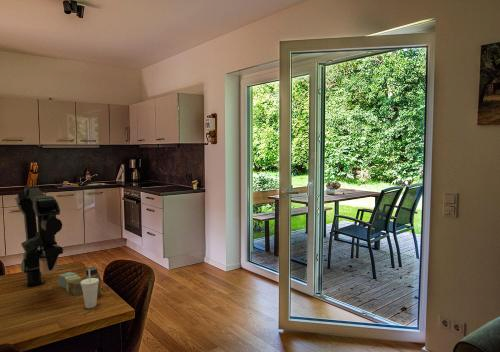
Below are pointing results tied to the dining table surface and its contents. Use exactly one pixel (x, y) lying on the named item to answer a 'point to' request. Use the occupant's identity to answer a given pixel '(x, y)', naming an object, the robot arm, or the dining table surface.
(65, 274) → the slate block
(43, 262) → the terracotta block
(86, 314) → the dining table surface
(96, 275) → the supplement bottle
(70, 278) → the maple block
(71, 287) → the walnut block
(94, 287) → the smoothie
